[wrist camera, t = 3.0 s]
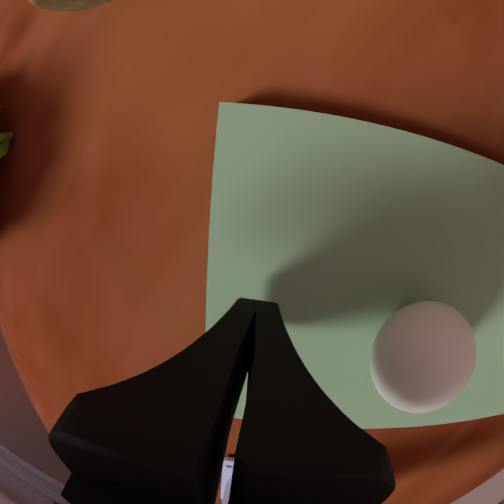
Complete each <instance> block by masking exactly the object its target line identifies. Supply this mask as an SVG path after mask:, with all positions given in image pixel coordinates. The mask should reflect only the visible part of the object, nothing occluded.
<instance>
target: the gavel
mask: <svg viewBox="0 0 504 504" xmlns="http://www.w3.org/2000/svg"><path fill="white" fill-rule="evenodd" d="M29 1H30V2H31V3H32V4H33V5H35V6H37V7H40V8H43V9H47V10H53V11H76V10H83V9H89V8H92V7H95V6H97V5H100V4H103V3H106V2H109V1H112V0H29Z"/></svg>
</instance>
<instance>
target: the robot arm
mask: <svg viewBox="0 0 504 504" xmlns="http://www.w3.org/2000/svg"><path fill="white" fill-rule="evenodd" d="M247 373H248V378H247V393H246V404H245V409H244V414H243V419H242V424H241V429H240V433H239V438H238V443H237V447H236V452H235V457H225V452H226V447H227V442H228V437H229V433H230V429H231V425H232V421H233V418H234V415H235V412H236V409H237V405H238V402H239V399H240V396H241V392H242V389H243V386H244V383H245V379H246V376H247ZM48 436H49V442H50V445H51V446H52V448H53V449H54V451H55V452H56V454H57V455H58V456H59V458H60V459H61V460H62V462H63V463H64V464H65V465H66V466H67V468H68V469H69V470H70V472H71V473H72V474H71V475H70V477H69V479H68V481H67V483H66V485H63V484H61V483H60V482H58V481H56V480H54V479H52V478H51V477H49V476H47V475H45V474H44V473H42V472H40V471H39V470H37V469H35V468H34V467H32V466H31V465H29V464H28V463H26V462H25V461H23V460H22V459H20V458H19V457H17V456H16V455H14V454H12V453H11V452H10V451H8V450H7V449H6V448H4V447H3V446H2V445H0V504H215V502H216V497H217V492H218V487H219V482H220V477H221V472H222V483H221V497H220V498H221V499H222V504H381V503H382V502H384V501H385V500H386V499H387V498H388V497H389V496H390V495H391V494H392V492H393V491H394V490H395V485H396V484H395V478H394V472H393V468H392V465H391V461H390V458H389V455H388V453H387V450H386V447H385V446H384V445H383V444H381V443H380V442H378V441H377V440H376V439H374V438H373V437H372V436H370V435H369V434H368V433H366V432H365V431H364V430H362V429H361V428H360V427H358V426H357V425H356V424H355V423H354V422H353V421H352V420H351V419H349V418H348V417H347V416H346V415H345V414H344V413H343V412H342V411H341V410H340V409H339V408H338V407H337V406H336V405H335V404H334V403H333V401H332V400H331V399H330V398H329V397H328V396H327V395H326V394H325V393H324V391H323V390H322V389H321V388H320V386H319V385H318V384H317V382H316V381H315V380H314V378H313V377H312V375H311V374H310V373H309V371H308V370H307V368H306V366H305V365H304V363H303V362H302V360H301V358H300V356H299V355H298V353H297V351H296V349H295V347H294V345H293V343H292V341H291V339H290V337H289V334H288V332H287V330H286V327H285V325H284V322H283V319H282V316H281V313H280V308H279V305H278V304H277V303H276V302H269V301H261V300H254V299H248V298H241V297H240V298H239V299H237V300H236V301H235V303H234V304H233V305H232V306H231V308H230V309H229V310H228V311H227V312H226V313H225V314H224V315H223V316H222V317H221V318H220V319H219V320H218V321H217V322H216V323H215V324H214V325H213V326H212V327H211V328H210V329H209V330H208V331H207V332H206V333H204V334H203V335H202V336H201V337H200V338H198V339H197V340H196V341H195V342H193V343H192V344H191V345H190V346H188V347H187V348H185V349H184V350H183V351H181V352H180V353H178V354H177V355H175V356H173V357H172V358H170V359H169V360H167V361H165V362H163V363H162V364H160V365H158V366H156V367H154V368H152V369H150V370H148V371H146V372H144V373H142V374H140V375H137V376H135V377H132V378H130V379H127V380H125V381H122V382H119V383H116V384H113V385H110V386H107V387H103V388H99V389H96V390H92V391H88V392H84V393H79V394H77V395H76V396H75V397H74V398H73V400H72V401H71V402H70V403H69V404H68V406H67V407H66V408H65V410H64V411H63V413H62V414H61V416H60V417H59V419H58V420H57V422H56V424H55V425H54V427H53V428H52V430H51V431H50V433H49V434H48ZM224 457H225V458H224ZM222 467H223V468H222ZM498 504H504V500H502V501H501V502H499V503H498Z"/></svg>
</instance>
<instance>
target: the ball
mask: <svg viewBox="0 0 504 504" xmlns="http://www.w3.org/2000/svg"><path fill="white" fill-rule="evenodd" d="M476 355H477V349H476V341H475V336H474V333H473V331H472V328H471V326H470V324H469V323H468V321H467V320H466V318H465V317H464V316H463V315H462V314H461V313H460V312H459V311H457V310H456V309H455V308H453V307H451V306H449V305H447V304H444V303H441V302H436V301H421V302H416V303H412V304H409V305H407V306H405V307H403V308H401V309H399V310H398V311H396V312H395V313H394V314H393V315H391V316H390V317H389V318H388V319H387V320H386V322H385V323H384V324H383V325H382V327H381V328H380V330H379V331H378V333H377V335H376V337H375V340H374V342H373V345H372V349H371V354H370V371H371V377H372V380H373V382H374V385H375V387H376V389H377V391H378V392H379V394H380V395H381V396H382V397H383V399H384V400H385V401H386V402H388V403H389V404H390V405H392V406H393V407H395V408H397V409H399V410H402V411H405V412H409V413H427V412H431V411H434V410H437V409H440V408H442V407H444V406H446V405H447V404H449V403H450V402H452V401H453V400H454V399H455V398H456V397H457V396H458V395H459V394H460V393H461V392H462V391H463V390H464V388H465V387H466V385H467V384H468V382H469V380H470V378H471V376H472V373H473V371H474V367H475V363H476Z"/></svg>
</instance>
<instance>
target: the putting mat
mask: <svg viewBox="0 0 504 504" xmlns="http://www.w3.org/2000/svg"><path fill="white" fill-rule="evenodd" d="M240 297H241V298H248V299H254V300H261V301H269V302H276V303H277V304H278V305H279V308H280V313H281V316H282V319H283V322H284V325H285V327H286V330H287V332H288V334H289V337H290V339H291V341H292V343H293V345H294V347H295V349H296V351H297V353H298V355H299V356H300V358H301V360H302V362H303V363H304V365H305V366H306V368H307V370H308V371H309V373H310V374H311V375H312V377H313V378H314V380H315V381H316V382H317V384H318V385H319V386H320V388H321V389H322V390H323V391H324V393H325V394H326V395H327V396H328V397H329V398H330V399H331V400H332V401H333V403H334V404H335V405H336V406H337V407H338V408H339V409H340V410H341V411H342V412H343V413H344V414H345V415H346V416H347V417H348V418H349V419H351V420H352V421H353V422H354V423H355V424H356V425H357V426H358V427H360V428H361V429H365V428H401V427H416V426H428V425H438V424H447V423H454V422H461V421H468V420H474V419H480V418H485V417H490V416H495V415H500V414H504V165H503V164H500V163H498V162H495V161H493V160H491V159H488V158H486V157H483V156H480V155H478V154H475V153H472V152H470V151H467V150H464V149H461V148H459V147H456V146H453V145H450V144H447V143H444V142H441V141H437V140H434V139H431V138H428V137H424V136H421V135H418V134H414V133H410V132H407V131H403V130H399V129H395V128H391V127H387V126H383V125H379V124H375V123H370V122H366V121H361V120H357V119H352V118H347V117H341V116H336V115H330V114H325V113H318V112H312V111H305V110H298V109H291V108H283V107H274V106H265V105H254V104H242V103H226V102H219V111H218V121H217V132H216V143H215V155H214V167H213V181H212V195H211V211H210V227H209V246H208V268H207V294H206V332H207V331H208V330H209V329H210V328H211V327H212V326H213V325H214V324H215V323H216V322H217V321H218V320H219V319H220V318H221V317H222V316H223V315H224V314H225V313H226V312H227V311H228V310H229V309H230V308H231V306H232V305H233V304H234V303H235V301H236V300H237V299H239V298H240ZM421 301H436V302H441V303H444V304H447V305H449V306H451V307H453V308H455V309H456V310H457V311H459V312H460V313H461V314H462V315H463V316H464V317H465V318H466V320H467V321H468V323H469V324H470V326H471V328H472V331H473V333H474V336H475V341H476V349H477V355H476V363H475V367H474V371H473V373H472V376H471V378H470V380H469V382H468V384H467V385H466V387H465V388H464V390H463V391H462V392H461V393H460V394H459V395H458V396H457V397H456V398H455V399H454V400H453V401H452V402H450V403H449V404H447V405H446V406H444V407H442V408H440V409H437V410H434V411H431V412H427V413H409V412H405V411H402V410H399V409H397V408H395V407H393V406H392V405H390V404H389V403H388V402H386V401H385V400H384V399H383V397H382V396H381V395H380V394H379V392H378V391H377V389H376V387H375V385H374V382H373V380H372V377H371V371H370V354H371V349H372V345H373V342H374V340H375V337H376V335H377V333H378V331H379V330H380V328H381V327H382V325H383V324H384V323H385V322H386V320H387V319H388V318H389V317H390V316H391V315H393V314H394V313H395V312H396V311H398V310H399V309H401V308H403V307H405V306H407V305H409V304H412V303H416V302H421ZM206 332H205V333H206ZM247 378H248V373H247V376H246V379H245V383H244V386H243V389H242V392H241V396H240V399H239V402H238V405H237V409H236V412H235V415H234V418H239V419H243V414H244V409H245V404H246V393H247Z"/></svg>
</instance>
